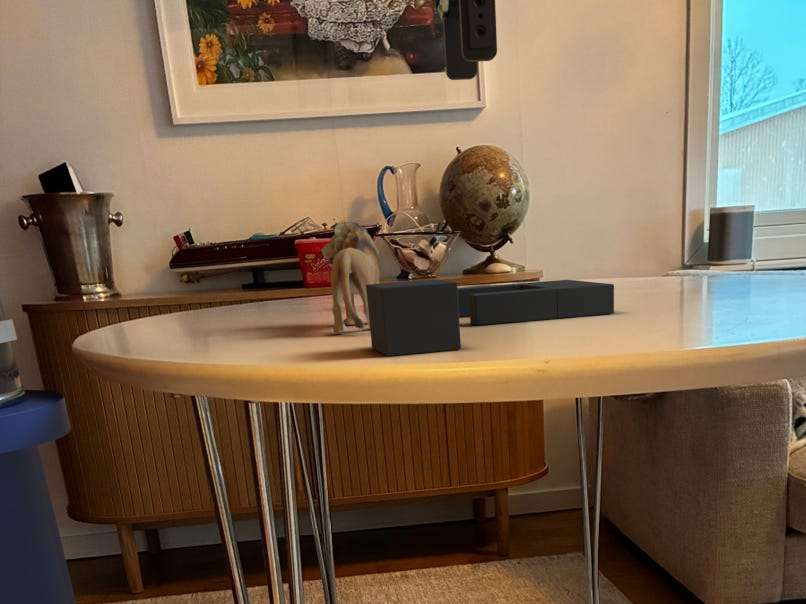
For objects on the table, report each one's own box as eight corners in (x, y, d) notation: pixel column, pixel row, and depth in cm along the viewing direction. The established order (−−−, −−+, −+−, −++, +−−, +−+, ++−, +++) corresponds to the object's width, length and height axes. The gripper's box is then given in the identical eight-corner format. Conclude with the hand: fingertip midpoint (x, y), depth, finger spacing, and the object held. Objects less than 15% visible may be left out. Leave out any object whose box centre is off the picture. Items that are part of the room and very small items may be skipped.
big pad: (476, 325, 83) (474, 295, 82) (443, 316, 93) (441, 289, 92) (614, 313, 86) (614, 284, 85) (568, 306, 96) (567, 279, 95)
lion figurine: (328, 322, 94) (317, 222, 90) (383, 318, 95) (374, 219, 91) (333, 337, 80) (320, 220, 77) (396, 332, 81) (386, 216, 78)
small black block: (387, 356, 67) (380, 287, 65) (371, 348, 72) (365, 284, 70) (461, 349, 68) (457, 282, 66) (441, 342, 73) (437, 279, 71)
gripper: (387, -188, 65) (407, 87, 71) (403, -292, 52) (426, 55, 58) (496, -188, 66) (506, 83, 72) (539, -291, 53) (546, 51, 59)
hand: (470, 70), depth 65 cm, fingers open, 8 cm apart
